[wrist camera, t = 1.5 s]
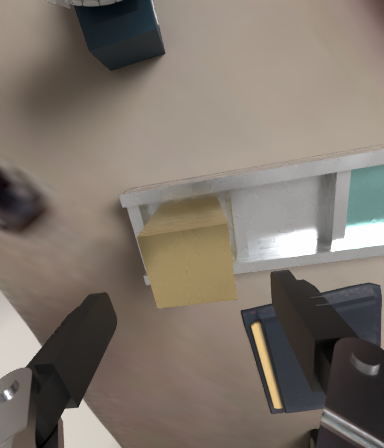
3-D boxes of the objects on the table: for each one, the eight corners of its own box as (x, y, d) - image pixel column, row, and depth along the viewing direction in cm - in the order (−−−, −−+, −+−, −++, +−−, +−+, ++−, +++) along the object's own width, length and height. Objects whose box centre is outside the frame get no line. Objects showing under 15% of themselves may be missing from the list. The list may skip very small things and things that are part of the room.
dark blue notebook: (388, 411, 26) (269, 425, 28) (376, 394, 28) (265, 408, 29) (397, 286, 19) (242, 316, 21) (381, 275, 21) (238, 303, 23)
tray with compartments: (131, 188, 18) (118, 195, 15) (446, 133, 16) (500, 129, 13) (153, 267, 21) (146, 285, 18) (423, 230, 18) (463, 245, 16)
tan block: (160, 204, 17) (136, 237, 11) (216, 195, 17) (227, 223, 10) (171, 254, 19) (157, 308, 13) (223, 247, 19) (237, 299, 12)
